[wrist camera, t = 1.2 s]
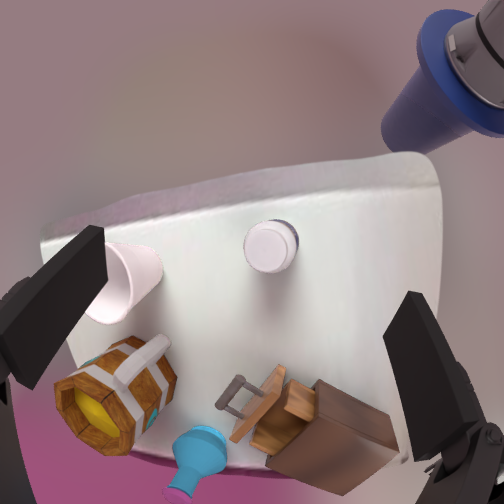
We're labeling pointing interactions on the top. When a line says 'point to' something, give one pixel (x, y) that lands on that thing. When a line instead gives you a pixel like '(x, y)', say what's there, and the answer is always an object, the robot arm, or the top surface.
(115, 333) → the top surface
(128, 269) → the cup
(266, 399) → the drawer
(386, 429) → the cabinet
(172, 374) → the mug
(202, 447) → the perfume bottle
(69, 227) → the top surface
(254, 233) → the pill bottle
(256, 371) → the top surface
